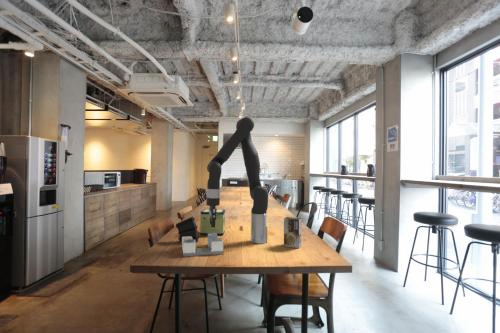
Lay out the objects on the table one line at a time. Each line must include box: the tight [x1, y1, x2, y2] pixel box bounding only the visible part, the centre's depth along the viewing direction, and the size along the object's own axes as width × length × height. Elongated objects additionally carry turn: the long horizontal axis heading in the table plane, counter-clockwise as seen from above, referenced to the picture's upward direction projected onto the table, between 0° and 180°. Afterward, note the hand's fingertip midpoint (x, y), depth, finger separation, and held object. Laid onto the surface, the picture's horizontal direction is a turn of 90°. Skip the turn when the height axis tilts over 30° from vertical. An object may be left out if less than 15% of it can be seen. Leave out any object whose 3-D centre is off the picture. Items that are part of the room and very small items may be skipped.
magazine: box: [175, 216, 200, 244], centre depth 155 cm, size 4×13×15 cm, turn 81°
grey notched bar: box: [182, 237, 224, 258], centre depth 135 cm, size 20×7×7 cm, turn 104°
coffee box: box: [283, 216, 302, 249], centre depth 150 cm, size 9×6×16 cm
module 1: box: [181, 236, 193, 250], centre depth 143 cm, size 5×4×6 cm
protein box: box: [199, 208, 226, 237], centre depth 176 cm, size 10×16×16 cm
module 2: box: [207, 233, 218, 248], centre depth 148 cm, size 5×4×7 cm
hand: (212, 225), depth 148 cm, fingers open, 8 cm apart
